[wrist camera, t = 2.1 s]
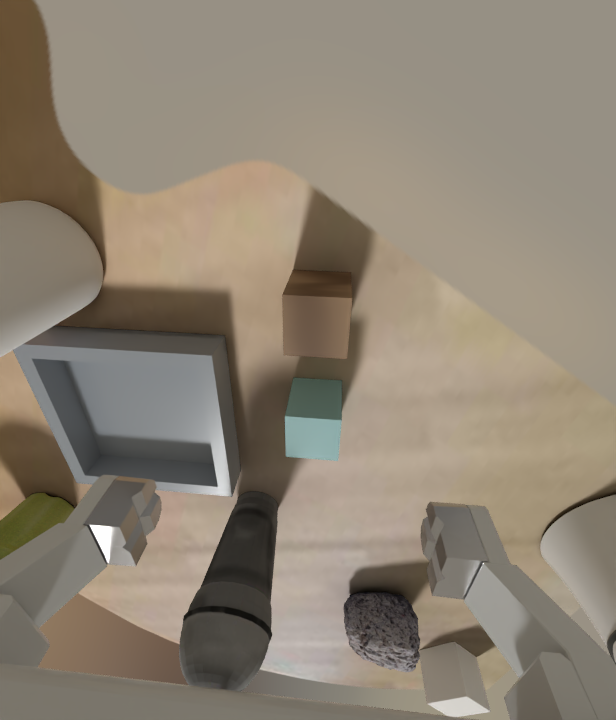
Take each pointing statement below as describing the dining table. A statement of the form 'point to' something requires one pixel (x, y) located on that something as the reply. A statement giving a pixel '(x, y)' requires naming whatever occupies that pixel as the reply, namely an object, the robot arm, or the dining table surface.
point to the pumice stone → (383, 629)
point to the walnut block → (317, 314)
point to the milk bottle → (42, 270)
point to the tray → (138, 405)
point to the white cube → (453, 680)
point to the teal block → (314, 419)
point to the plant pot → (31, 520)
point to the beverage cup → (233, 601)
